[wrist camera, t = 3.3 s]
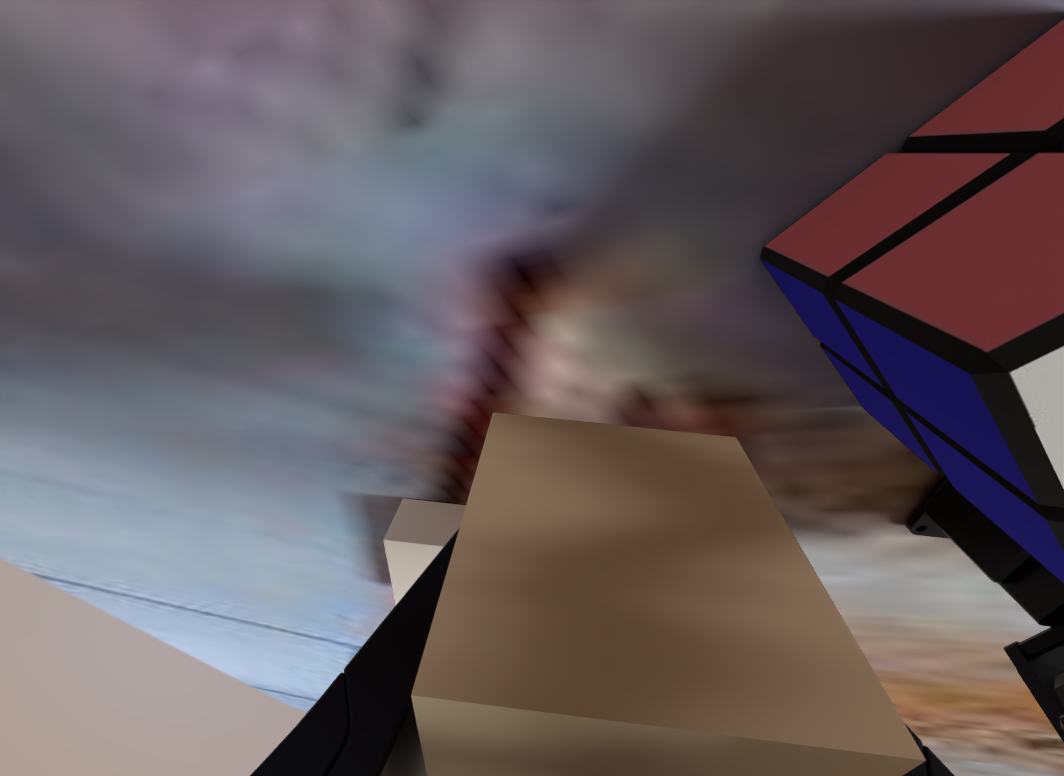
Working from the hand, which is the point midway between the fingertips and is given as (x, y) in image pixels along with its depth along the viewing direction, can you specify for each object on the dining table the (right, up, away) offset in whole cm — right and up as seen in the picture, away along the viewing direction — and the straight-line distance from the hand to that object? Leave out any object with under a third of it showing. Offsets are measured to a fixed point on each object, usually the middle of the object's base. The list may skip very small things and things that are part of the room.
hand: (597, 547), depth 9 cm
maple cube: (0, +1, +1) cm, 1 cm away
